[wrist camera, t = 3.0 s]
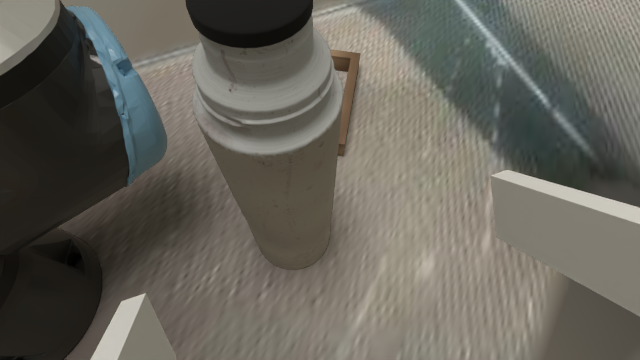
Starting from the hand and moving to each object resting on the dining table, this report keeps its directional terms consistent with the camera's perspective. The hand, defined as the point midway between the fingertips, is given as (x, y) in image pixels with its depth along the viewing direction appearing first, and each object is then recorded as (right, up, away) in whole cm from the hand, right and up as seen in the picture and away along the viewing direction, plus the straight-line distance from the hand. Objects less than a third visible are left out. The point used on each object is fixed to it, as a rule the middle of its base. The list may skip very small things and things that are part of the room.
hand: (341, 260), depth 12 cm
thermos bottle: (-4, -3, +25) cm, 26 cm away
